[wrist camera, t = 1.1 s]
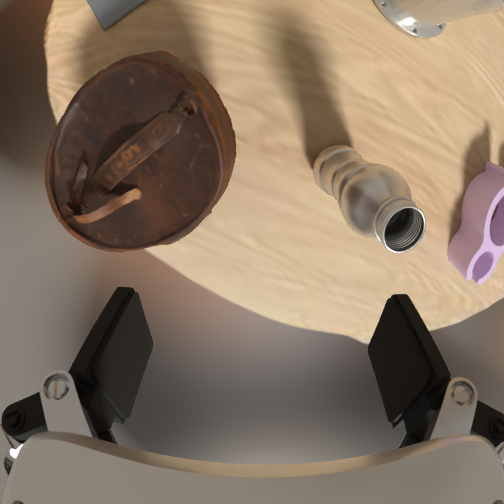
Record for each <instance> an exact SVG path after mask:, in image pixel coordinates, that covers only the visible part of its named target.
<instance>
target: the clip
mask: <svg viewBox="0 0 504 504" xmlns="http://www.w3.org/2000/svg"><path fill="white" fill-rule="evenodd" d="M485 166H486V170H485V171H484V172H482V173H480V174H478V175H477V176H476V177H475V178H474V179H473V180H472V181H471V183H470V184H469V186H468V188H467V190H466V192H465V195H464V198H463V202H462V210H461V215H462V222H461V226H460V228H459V230H458V231H457V232H456V234H455V235H454V236H453V238H452V239H451V241H450V244H449V247H448V252H447V256H448V260H449V261H450V262H451V263H452V264H453V265H454V266H455V267H456V268H457V270H458V271H459V272H460V273H461V274H462V275H463V276H464V277H465V279H466V280H467V281H469V280H470V279H471V278H472V279H473V280H474V281H475V282H476V284H477V285H480V284H481V283H483V282H484V281H485V280H487V279H488V278H489V276H490V275H491V274H492V272H493V271H494V269H495V267H496V264H497V261H498V259H499V257H500V256H501V254H502V253H503V252H504V168H503V167H501V166H499V165H496V164H494V163H492V162H489V161H487V162H486V164H485ZM498 202H499V204H498V208H497V211H496V214H495V216H494V218H493V219H492V221H491V218H492V214H493V212H494V209H495V207H496V205H497V203H498Z"/></svg>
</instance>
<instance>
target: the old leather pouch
mask: <svg viewBox="0 0 504 504" xmlns="http://www.w3.org/2000/svg"><path fill="white" fill-rule="evenodd" d="M235 158H236V140H235V132H234V130H233V128H232V122H231V119H230V116H229V114H228V112H227V110H226V108H225V107H224V105H223V103H222V100H221V99H220V97H219V94H218V93H217V92H216V90H215V89H214V88H213V86H212V85H211V84H210V83H209V82H208V81H207V79H206V78H204V76H203V75H202V74H200V73H199V72H198V71H196V70H195V69H193V68H191V67H190V66H188V65H187V64H185V63H184V62H181V61H180V60H179V59H178V58H177V57H175V56H173V55H171V54H170V53H168V52H165V51H156V52H150V53H145V54H140V55H134V56H129V57H125V58H123V59H121V60H119V61H117V62H115V63H113V64H112V65H110V66H109V67H107V68H106V69H104V70H102V71H100V72H98V73H97V74H96V75H95V76H93V77H92V78H91V79H90V80H88V81H87V82H86V83H85V84H84V85H83V86H82V87H81V88H80V89H79V91H78V92H77V93H76V94H75V96H74V97H73V99H72V100H71V102H70V103H69V105H68V107H67V109H66V111H65V113H64V115H63V116H62V118H61V119H60V121H59V123H58V125H57V127H56V129H55V132H54V134H53V137H52V139H51V142H50V145H49V148H48V152H47V156H46V162H45V187H46V192H47V195H48V199H49V202H50V204H51V207H52V210H53V212H54V214H55V216H56V218H57V219H58V221H59V222H60V223H61V224H62V225H63V226H64V228H65V229H66V230H67V231H68V232H69V233H70V234H72V235H73V236H74V237H75V238H77V239H78V240H80V241H81V242H83V243H85V244H87V245H89V246H91V247H94V248H97V249H100V250H104V251H110V252H125V251H132V250H139V249H144V248H148V247H152V246H157V245H168V244H172V243H174V242H176V241H178V240H180V239H181V238H183V237H185V236H186V235H188V234H189V233H191V232H192V231H193V230H194V229H195V228H196V227H197V226H198V225H199V224H200V223H201V222H202V221H203V219H204V218H205V217H206V216H207V215H209V214H210V213H211V212H212V211H211V209H212V208H213V207H214V206H215V205H216V204H217V202H218V201H219V199H220V198H221V196H222V195H223V193H224V191H225V190H226V188H227V186H228V183H229V180H230V177H231V175H232V171H233V167H234V163H235Z"/></svg>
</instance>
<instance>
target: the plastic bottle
mask: <svg viewBox="0 0 504 504" xmlns="http://www.w3.org/2000/svg"><path fill="white" fill-rule="evenodd" d="M313 171H314V178H315V181H316V183H317V185H318V186H319V188H320V189H321V190H323V191H324V192H325V193H327V194H328V195H331V196H333V197H334V198H335V199H336V200H337V202H338V204H339V206H340V209H341V211H342V214H343V217H344V218H345V220H346V222H347V224H348V226H349V227H350V228H351V229H352V230H353V231H354V232H356V233H357V234H359V235H362V236H364V237H366V238H370V239H378V240H379V241H380V242H382V243H383V244H384V246H385V247H386V248H387V249H388V250H390V251H392V252H394V253H403V252H407V251H409V250H411V249H412V248H414V247H415V246H416V245H417V244H418V243H419V241H420V240H421V238H422V237H423V234H424V232H425V227H426V221H425V217H424V214H423V213H422V211H421V210H420V209H419V208H418V207H417V206H416V205H415V203H414V202H413V201H412V196H411V191H410V188H409V186H408V184H407V182H406V181H405V179H404V178H403V176H402V175H401V174H400V173H399V172H398V171H396V170H394V169H393V168H390V167H387V166H384V165H380V164H374V163H370V162H368V161H365V160H364V159H363V158H362V157H361V156H360V154H359V153H358V152H357V151H355V150H354V149H353V148H351V147H349V146H345V145H334V146H330V147H327V148H325V149H324V150H323V151H321V152H320V153H319V155H318V156H317V158H316V160H315V162H314V169H313Z"/></svg>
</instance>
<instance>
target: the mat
mask: <svg viewBox="0 0 504 504" xmlns="http://www.w3.org/2000/svg"><path fill="white" fill-rule="evenodd" d="M146 1H147V0H87V2H88V4H89V5H90V7H91V9H92V10H93V12H94V14H95V16H96V17H97V19H98V21H99V22H100V24H101V26H102V27H103V29H104V30H107V29H108V28H110V27H111V26H112V25H113V24H115V23H116V22H117V21H119V20H120V19H121V18H123V17H124V16H125V15H127V14H128V13H129V12H131V11H132V10H134V9H135V8H137V7H138V6H140V5H141V4H143V3H144V2H146Z"/></svg>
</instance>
